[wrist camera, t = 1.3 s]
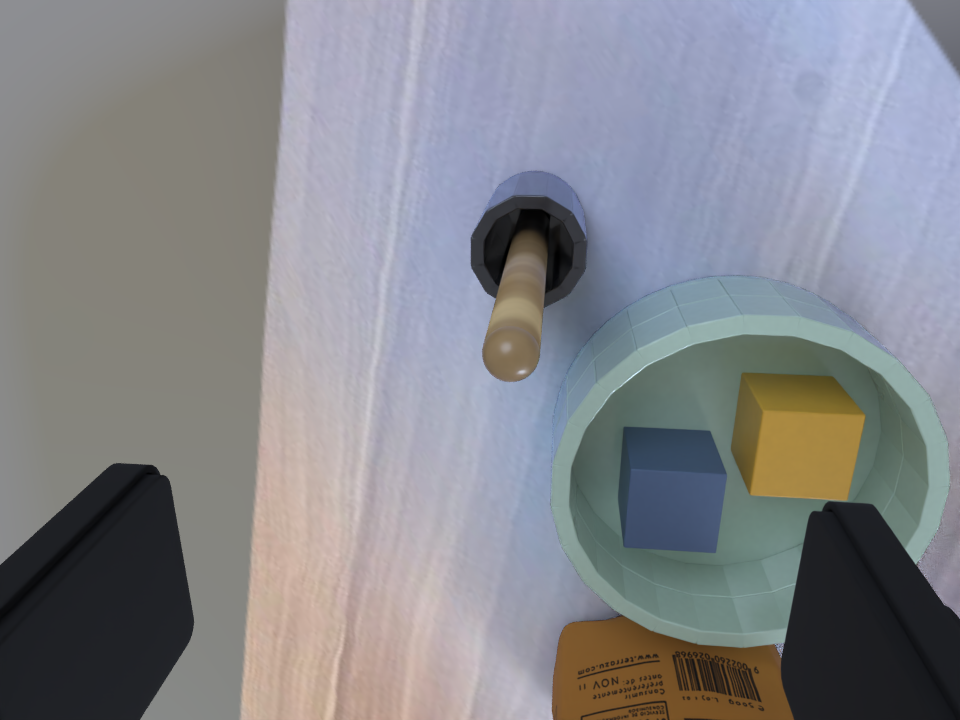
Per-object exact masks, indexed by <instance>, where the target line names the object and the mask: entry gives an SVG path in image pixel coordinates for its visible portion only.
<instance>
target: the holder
mask: <svg viewBox="0 0 960 720" xmlns="http://www.w3.org/2000/svg"><path fill="white" fill-rule="evenodd" d="M528 209H538V210H541V211H542V212H544V213H545V214H546V215H547V217H548V219H549V222H550V230H549V243H548V255H547V268H546V281H545V294H544V307H543V308H545V307H547V306H549V305H551V304H553V303H555V302H557V301H559V300H561V299H563V298H565V297H566V296H568V295H569V294H570V293H571V291H572V290H573V288H574V287H575V285H576V284H577V282H578V281H579V279H580V278H581V276H582V275H583V273H584V272H585V269H586V256H587V234H586V227H585V219H584V211H583V208H582V206H581V204H580V201H579V199H578V197H577V195H576V193H575V192H574V190H573V189H572V188H571V186H569V185H568V184H567V183H566V182H565V181H564V180H562V179H561V178H559V177H557V176H555V175H553V174H550V173H547V172H543V171H527V172H522V173H519V174H516V175H514V176H512V177H510V178H508V179H507V180H505V181H504V182H503V183H502V184H500V185H499V186H498V187H497V188H496V190H495V192H494V193H493V195H492V197H491V199H490V200H489V202H488V204H487V206H486V207H485V209H484V211H483V213H482V215H481V217H480V219H479V221H478V223H477V225H476V227H475V229H474V231H473V233H472V237H471V266H472V270H473V271H474V273H475V275H476V276H477V278H478V280H479V282H480V283H481V285H482V287H483V288H484V290H485V292H487V294H489V295H491V296H492V297H494V298H496V297H497V293H498V289H499V286H500V282H501V278H502V275H503V271H504V267H505V264H506V260H507V256H508V253H509V249H510V245H511V242H512V238H513V234H514V231H515V227H516V223H517V220H518V218H519V216H520V215H521V214H522V213H523V212H524V211H526V210H528Z"/></svg>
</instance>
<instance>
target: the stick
mask: <svg viewBox="0 0 960 720" xmlns="http://www.w3.org/2000/svg"><path fill="white" fill-rule="evenodd" d="M549 230H550V222H549V219H548V217H547V215H546V214H545V213H544V212H542V211H541V210H538V209H528V210H526V211H524V212H523V213H522V214H521V215H520V216H519V218H518V220H517V223H516V227H515V231H514V234H513V238H512V242H511V245H510V249H509V253H508V256H507V260H506V264H505V267H504V271H503V275H502V278H501V282H500V286H499V289H498V293H497V297H496V300H495V304H494V308H493V311H492V315H491V319H490V322H489V326H488V330H487V333H486V337H485V341H484V344H483V349H482V357H483V362H484V365H485V366H486V368H487V370H488V371H489V372H490V374H491V375H493V376H494V377H495V378H497V379H499V380H502V381H505V382H517V381H520V380H523V379H525V378H526V377H528V376H529V375H530V374H531V373H532V372H533V371H534V370H535V368H536V367H537V364H538V362H539V357H540V345H541V333H542V320H543V307H544V294H545V281H546V268H547V255H548V243H549Z"/></svg>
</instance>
